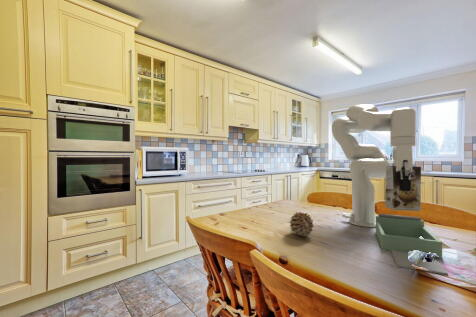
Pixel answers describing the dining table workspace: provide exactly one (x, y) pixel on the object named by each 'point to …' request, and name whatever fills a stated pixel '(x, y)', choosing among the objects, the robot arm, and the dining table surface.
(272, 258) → the dining table surface
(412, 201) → the cookie box
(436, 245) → the tray
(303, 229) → the pine cone
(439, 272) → the mat
